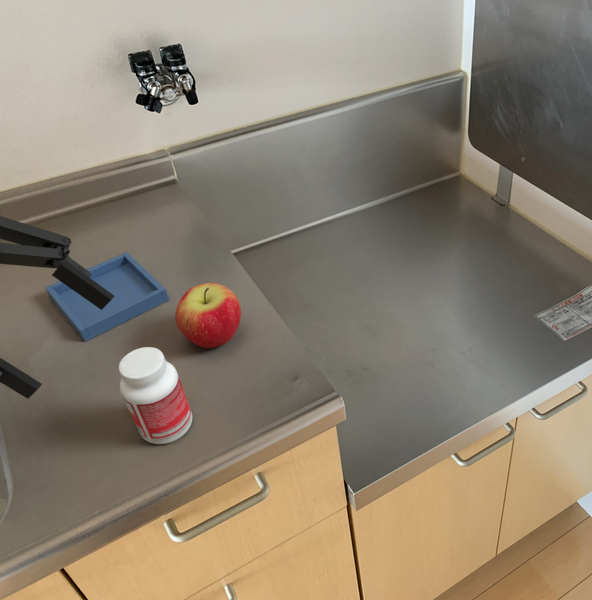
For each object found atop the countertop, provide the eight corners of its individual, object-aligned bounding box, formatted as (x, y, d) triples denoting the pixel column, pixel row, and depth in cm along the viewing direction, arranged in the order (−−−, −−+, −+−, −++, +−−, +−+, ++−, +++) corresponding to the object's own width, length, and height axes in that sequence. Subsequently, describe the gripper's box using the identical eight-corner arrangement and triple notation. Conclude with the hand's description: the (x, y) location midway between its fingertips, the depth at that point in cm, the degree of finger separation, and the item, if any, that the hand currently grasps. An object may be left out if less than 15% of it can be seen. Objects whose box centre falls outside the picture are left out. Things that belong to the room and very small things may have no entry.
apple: (209, 369, 80) (192, 313, 73) (171, 339, 84) (152, 284, 78) (258, 335, 85) (246, 280, 78) (220, 309, 89) (206, 254, 82)
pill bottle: (203, 412, 75) (182, 349, 67) (174, 452, 70) (148, 389, 63) (160, 399, 76) (135, 336, 69) (129, 438, 72) (98, 375, 65)
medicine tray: (85, 341, 84) (79, 330, 82) (50, 298, 91) (44, 287, 89) (169, 299, 90) (165, 289, 89) (130, 262, 97) (126, 251, 96)
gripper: (-41, 170, 70) (119, 286, 78) (-253, 316, 51) (-16, 449, 59) (-21, 131, 66) (146, 258, 73) (-245, 275, 47) (10, 424, 55)
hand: (74, 344), depth 66 cm, fingers open, 13 cm apart
